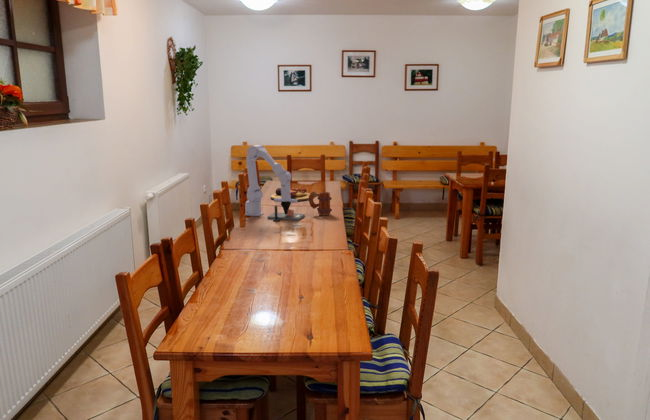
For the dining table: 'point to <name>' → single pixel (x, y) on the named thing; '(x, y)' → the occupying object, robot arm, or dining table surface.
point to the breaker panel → (285, 216)
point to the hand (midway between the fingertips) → (286, 213)
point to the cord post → (276, 215)
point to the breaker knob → (290, 212)
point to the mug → (321, 202)
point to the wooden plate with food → (293, 194)
